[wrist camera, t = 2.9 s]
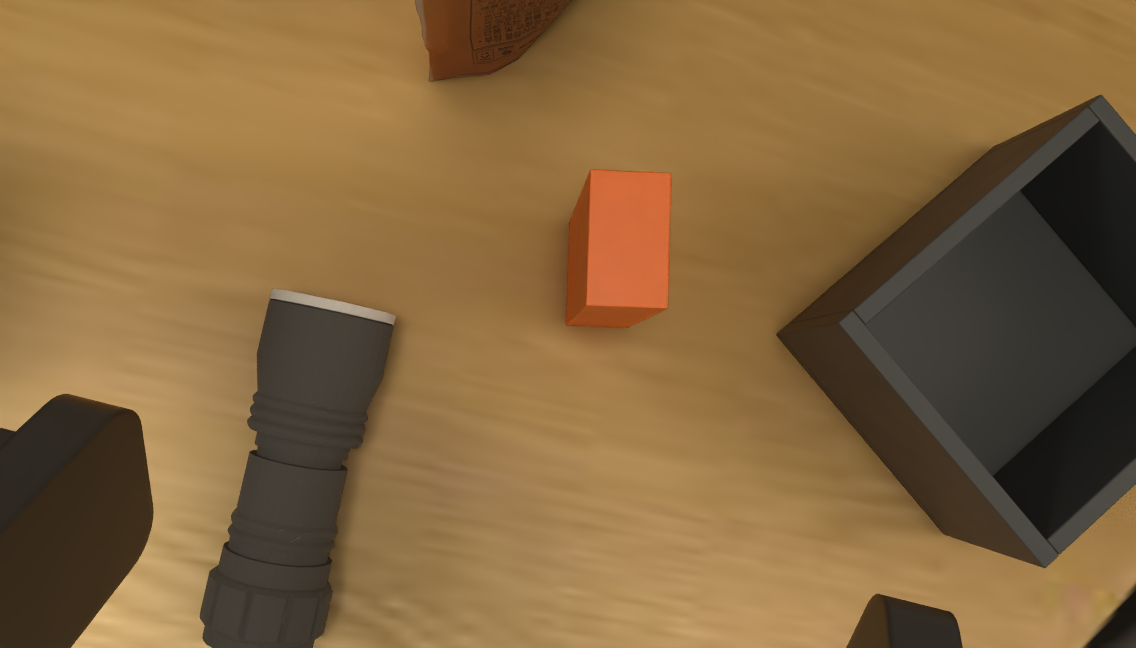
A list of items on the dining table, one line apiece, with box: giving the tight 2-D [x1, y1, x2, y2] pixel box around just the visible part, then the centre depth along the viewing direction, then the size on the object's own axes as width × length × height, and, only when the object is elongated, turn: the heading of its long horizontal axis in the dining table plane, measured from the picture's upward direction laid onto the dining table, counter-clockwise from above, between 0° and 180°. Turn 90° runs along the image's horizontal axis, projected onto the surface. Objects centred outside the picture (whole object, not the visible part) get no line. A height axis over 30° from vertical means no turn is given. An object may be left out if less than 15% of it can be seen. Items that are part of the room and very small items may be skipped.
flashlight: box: [200, 289, 396, 648], centre depth 41 cm, size 15×5×5 cm, turn 168°
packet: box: [566, 170, 671, 328], centre depth 40 cm, size 5×3×11 cm, turn 178°
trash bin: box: [777, 95, 1136, 568], centre depth 42 cm, size 15×13×9 cm
